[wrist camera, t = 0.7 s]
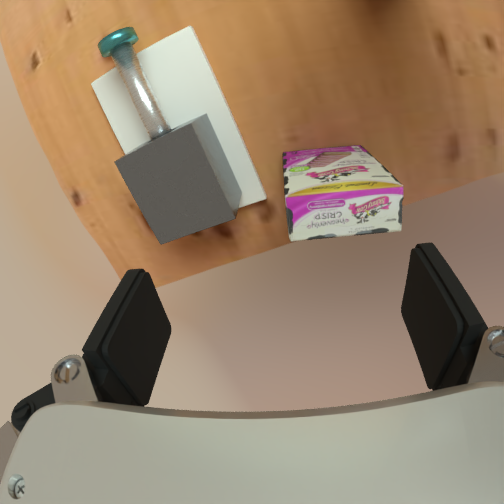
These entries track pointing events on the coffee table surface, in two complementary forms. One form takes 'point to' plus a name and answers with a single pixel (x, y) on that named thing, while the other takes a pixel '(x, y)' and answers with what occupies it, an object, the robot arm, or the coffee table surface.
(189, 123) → the shaft housing
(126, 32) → the steel shaft
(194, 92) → the mounting board
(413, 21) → the coffee table surface
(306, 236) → the candy bar box
